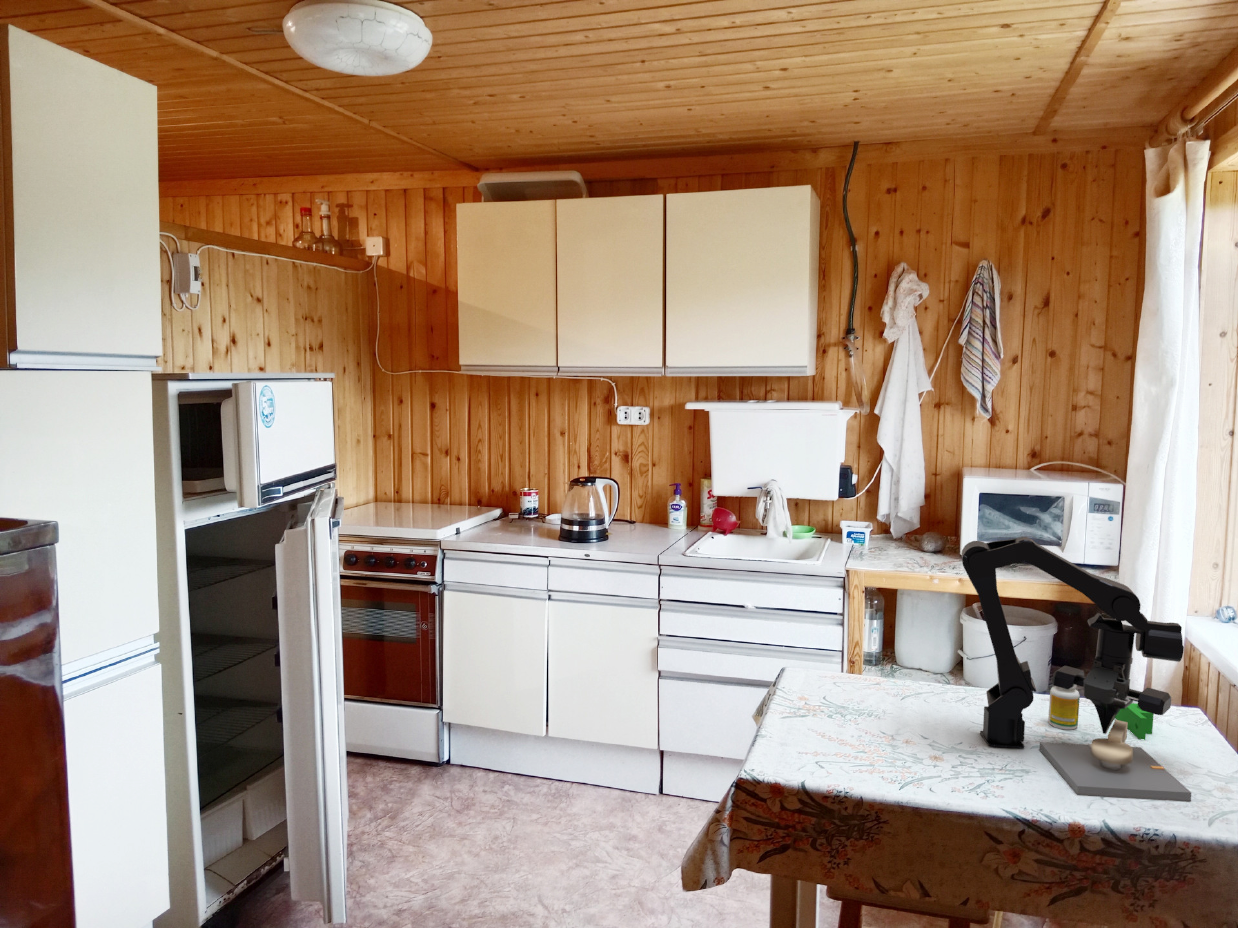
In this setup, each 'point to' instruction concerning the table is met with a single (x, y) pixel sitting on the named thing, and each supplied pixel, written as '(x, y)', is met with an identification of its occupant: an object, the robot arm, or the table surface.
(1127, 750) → the beige long-handled part
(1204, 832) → the table surface
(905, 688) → the table surface
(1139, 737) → the pipe clamp
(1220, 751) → the table surface
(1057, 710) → the supplement bottle
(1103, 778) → the thin gray panel
